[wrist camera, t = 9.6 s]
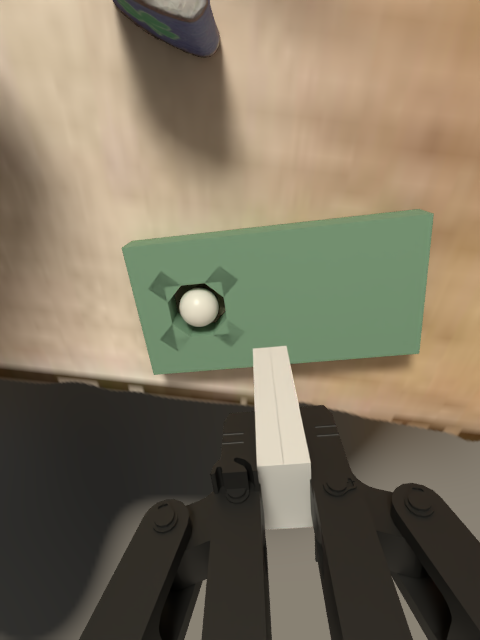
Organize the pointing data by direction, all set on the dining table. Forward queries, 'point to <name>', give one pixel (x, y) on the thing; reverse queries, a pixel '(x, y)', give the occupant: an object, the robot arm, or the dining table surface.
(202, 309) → the ball
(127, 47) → the dining table surface
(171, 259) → the putting mat
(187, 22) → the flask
